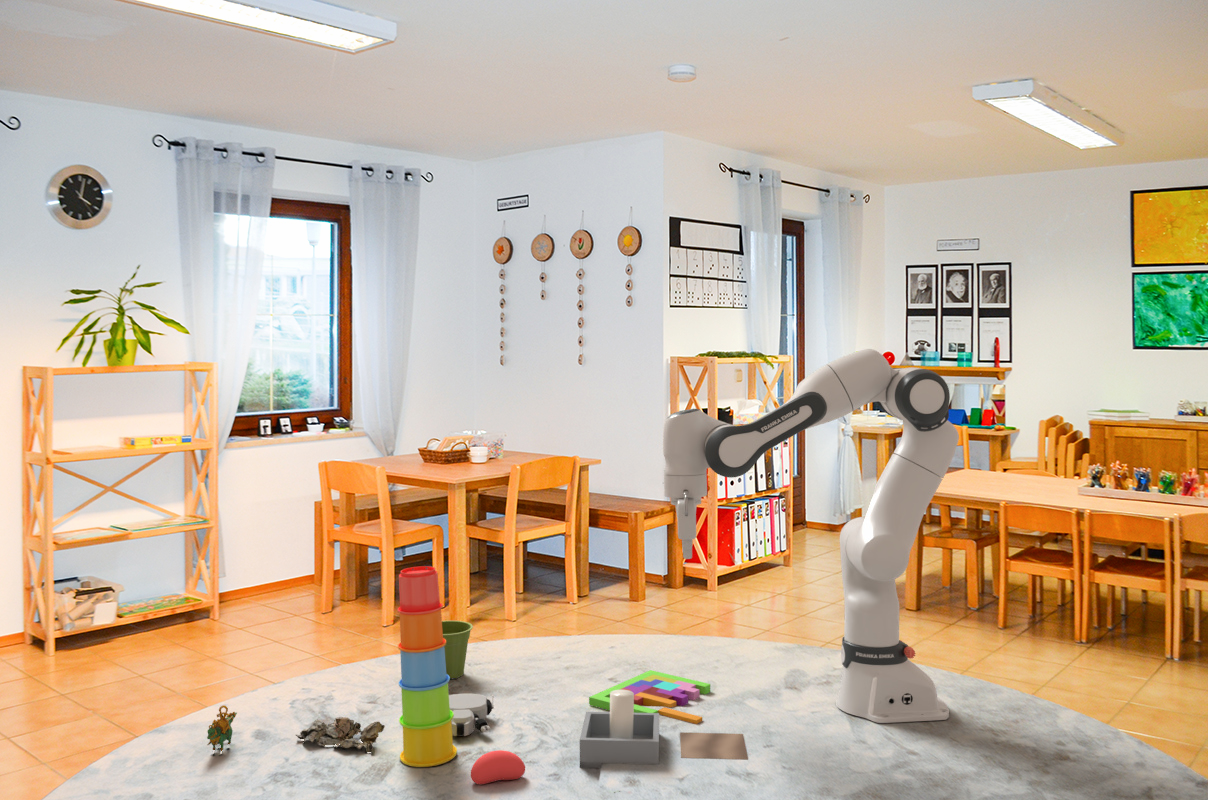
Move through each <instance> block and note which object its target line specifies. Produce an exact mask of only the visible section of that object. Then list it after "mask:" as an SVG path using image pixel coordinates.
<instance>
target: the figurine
mask: <svg viewBox="0 0 1208 800" xmlns="http://www.w3.org/2000/svg"><path fill="white" fill-rule="evenodd" d="M223 708H224V709H225V711H224V712H223V711H222V709H223ZM228 708H229V707H228V706H226V705H224V704H223V705H220V706H219V709H218V711H219V713H217V714H216V718H218V719H217V720H216V719H213V721H212V724H209V726H208V729H207V736H206V738H207V740H209V742H208V743H207V744H206V746H210V745H212V750H215V751H216V750H217V747H216V746H217V745H219V746H220V745H221V748H220V749H219V751H220V750H221V751H222V750H223V751H224V743H225V742H226V741H227V745H228V744H230V743H231V744H232V738H233V737H232V736H233V728H232V726H231V725H232V723H233V722H234V719H235V718H236V716H237V714H238V712H235V711H232V712H229V709H228ZM228 712H229V713H228ZM231 744H230V745H231ZM223 751H222V752H223Z"/></svg>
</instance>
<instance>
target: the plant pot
mask: <svg viewBox="0 0 1208 800" xmlns="http://www.w3.org/2000/svg"><path fill="white" fill-rule="evenodd" d="M473 629H474V626H473V624H472V623H470V622H467V621H463V620H442V630H443V638H444V639H446V644H445V645H444V649H445V662H446V674H447V675H449V677H450V679H451V678H456V679H458V678H460V676H461V677H462V676H463V675H464V673H465V666H466V661H467V660H466V659H467V652H468V645H469V644H468V643H469V639H470V635H471V630H473ZM457 677H458V678H457Z"/></svg>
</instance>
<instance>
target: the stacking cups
mask: <svg viewBox="0 0 1208 800" xmlns="http://www.w3.org/2000/svg"><path fill="white" fill-rule="evenodd" d="M438 575H439V574H438V571H437V570H436V567H433V566H430V565H429V566H427V565H422V566H421V565H420V566H412V567H407V568H403V569H402V570H400V573H399V574H398V583H399V584H398V588H399V589H398V591H399V592H398V593H399V607H397V612H398V613H399V628H400V629H399V630H400V633H399V634H400V642H399V643H398V644H397V648H398V650H399V651H400V671H401V673H400V674H401V679H399V681H398V686H399V688H400V690H401V708H402V709H401V710H402V711H401V712H402V715H400V716H399V719H398V722H399V723H398V724H399V725H400V726H402V743H403V745H402V747H403V750H402V751H401V752H400V754H399V759H400V761H401V763H403V764H404V765H406V766H409V767H414V768H429V767H430V768H431V767H436V766H440V765H442V764H446V763H448V762H449V761H451V760H453V759H454V758H455V757H456V756H457V753H458V749H457V747H456V746H455V745H454V744H453V743H454V742H453V739H454V738H453V735H452V722H451V720H452V719H453V717H454V713H453V712H452V711H451V710H450V706H449V695H450V694H449V682H450V680H451V678H450V677H449V675H447V674H446V662H445V649H444V645H445V644H446V639H444V638H443V630H442V621H443V620H442V609H443V606H444V605H443V603H441V601H440V600H441V599H440V589H439V587H440V586H439V576H438Z"/></svg>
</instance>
